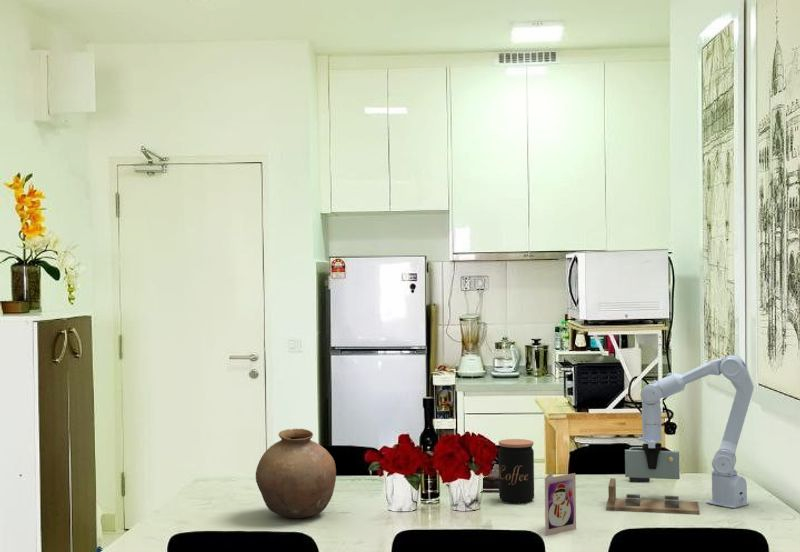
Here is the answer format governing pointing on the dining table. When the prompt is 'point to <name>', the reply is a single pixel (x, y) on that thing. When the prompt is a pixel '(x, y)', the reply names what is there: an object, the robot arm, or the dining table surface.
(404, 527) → the dining table surface
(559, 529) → the greeting card
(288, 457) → the pottery
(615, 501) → the hinge rail
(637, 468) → the door panel
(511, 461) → the coffee jar
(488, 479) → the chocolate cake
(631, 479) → the battery charger
